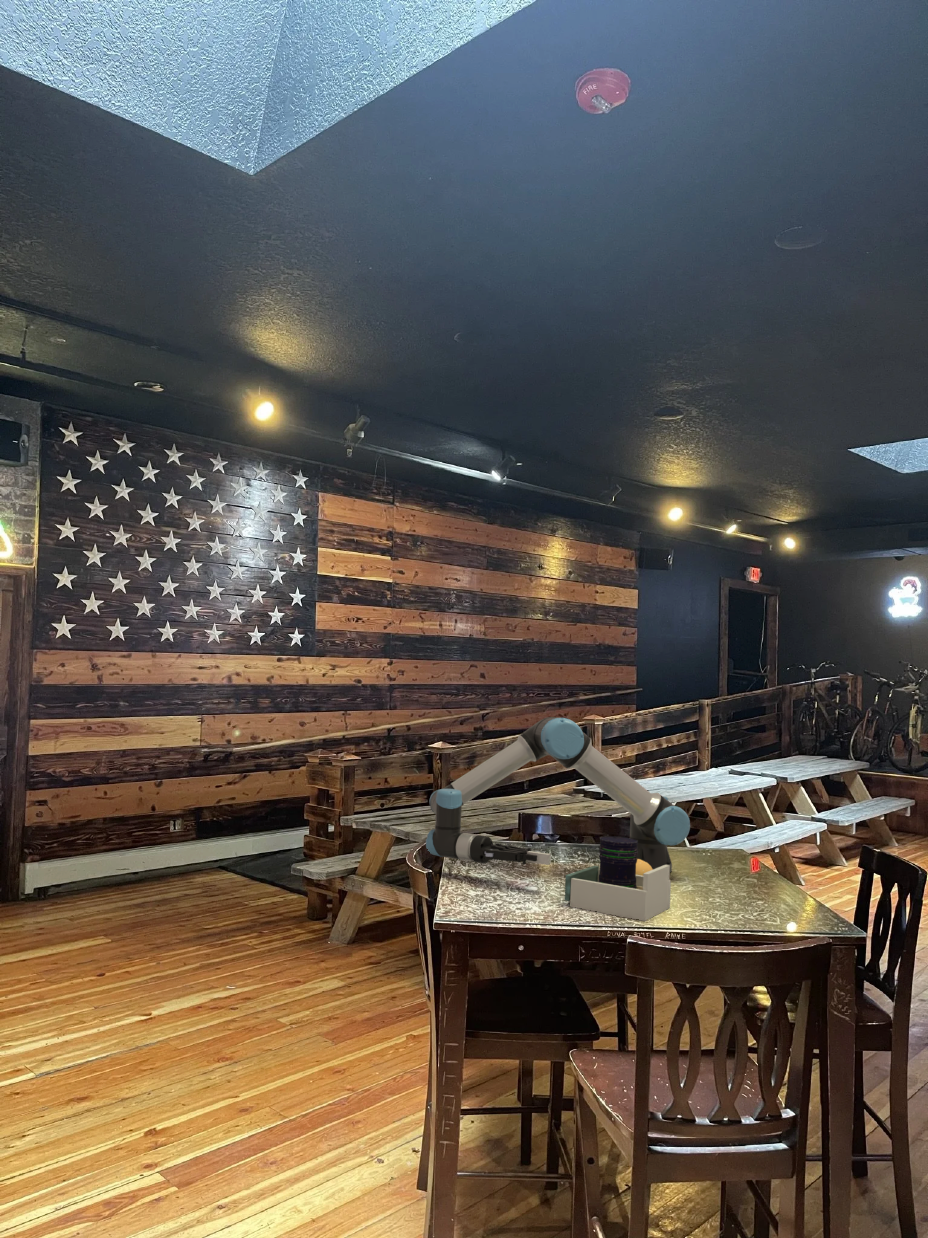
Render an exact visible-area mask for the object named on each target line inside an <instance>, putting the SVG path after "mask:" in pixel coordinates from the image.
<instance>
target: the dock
mask: <svg viewBox="0 0 928 1238" xmlns="http://www.w3.org/2000/svg"><path fill="white" fill-rule="evenodd" d="M670 873H671V872H670V865H663V866H661V867H658V868H656V869H653V870H651V871H648V872H646V873H643V876H641V875H636V885H637V886H642V887H643V890H639V889H634V888H628V887H622V886H616V885H611V884H605V883H599V882H593V881H588V880H582V879H576V878H572V879H571V896H570V901H569V902H570V903H569V907H570V908H574V907H576V908H575V909H579V908H582V909H581V910H585V911H590V910H591V911H590V912H595V911H597V912H596V913H599V914H600V913H601V914H607V915H610V914H612V915H611V916H615V915H616V917H621V916H622V917H621V918H627V919H631V918H632V919H631V920H636V919H639V920H638V921H641V920H642V921H641V922H646V921H648V920H650V919H651V918H653V916H654V917H656V916H657V915H659V914H661V913H664V912H665V911H667V910H669V909H671V887H672V886H671V885H672V880H671V879H670ZM599 874H600V868H599V869H598V881H599ZM649 918H650V919H649ZM647 919H648V920H647Z"/></svg>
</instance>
